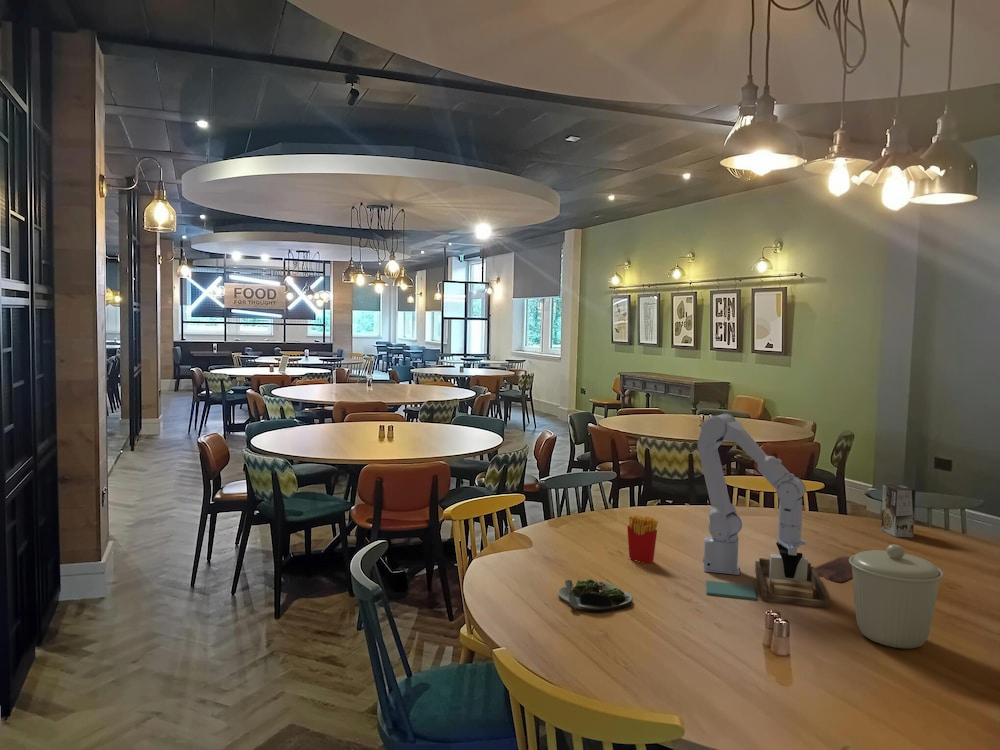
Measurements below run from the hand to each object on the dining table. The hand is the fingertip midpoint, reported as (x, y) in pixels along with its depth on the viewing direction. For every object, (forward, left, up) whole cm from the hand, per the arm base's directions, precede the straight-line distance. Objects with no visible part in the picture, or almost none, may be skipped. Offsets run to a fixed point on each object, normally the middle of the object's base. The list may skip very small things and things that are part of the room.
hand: (787, 573), depth 186 cm
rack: (0, -3, -3) cm, 4 cm away
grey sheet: (0, 0, -3) cm, 3 cm away
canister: (+18, -29, -3) cm, 34 cm away
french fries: (-39, +8, -3) cm, 40 cm away
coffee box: (+42, +64, -3) cm, 77 cm away
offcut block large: (0, -8, -3) cm, 8 cm away
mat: (-15, -10, -3) cm, 18 cm away
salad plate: (-48, -27, -3) cm, 55 cm away
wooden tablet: (+17, +19, -4) cm, 26 cm away
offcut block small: (0, -11, -3) cm, 11 cm away
